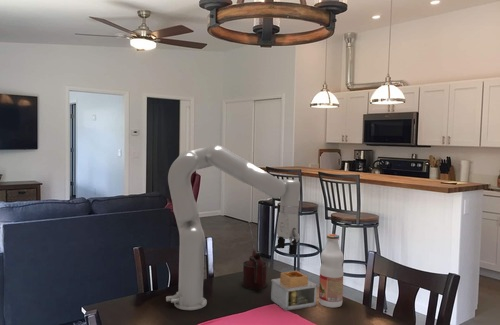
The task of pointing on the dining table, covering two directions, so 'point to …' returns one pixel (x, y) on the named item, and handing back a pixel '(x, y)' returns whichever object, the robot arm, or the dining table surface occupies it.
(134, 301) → the dining table surface
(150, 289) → the dining table surface
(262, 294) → the dining table surface
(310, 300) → the translucent plastic box
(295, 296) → the brass pellet
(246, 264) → the oil can
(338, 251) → the fruit juice
